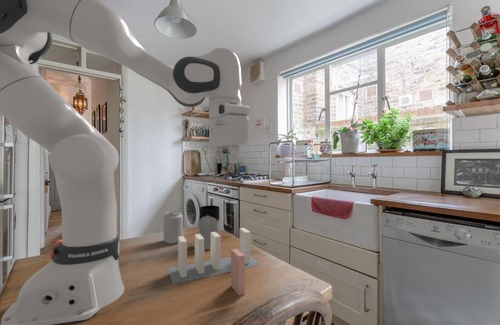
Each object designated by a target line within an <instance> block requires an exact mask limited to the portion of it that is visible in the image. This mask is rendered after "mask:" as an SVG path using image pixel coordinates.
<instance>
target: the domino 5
mask: <svg viewBox="0 0 500 325" xmlns="http://www.w3.org/2000/svg"><path fill="white" fill-rule="evenodd" d="M251 236H252V234H251V231H249V230H248V229H247V228H245V227H242V228H241V227H240V228H239V251H240V252H241V253H243V254H244V255H245V264H249V263H250V256H251Z"/></svg>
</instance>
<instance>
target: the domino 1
mask: <svg viewBox="0 0 500 325" xmlns="http://www.w3.org/2000/svg"><path fill="white" fill-rule="evenodd" d="M187 265H188V241H187V239H186V237H185V236H184V235H183V236H181V237H178V243H177V267H178V271H179V274H180V276H181V278H182V277H187Z"/></svg>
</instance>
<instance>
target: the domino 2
mask: <svg viewBox="0 0 500 325" xmlns="http://www.w3.org/2000/svg"><path fill="white" fill-rule="evenodd" d="M204 262H205V249H204V238H203V237H202V236H201V235H200V234H199V233H196V234H194V263H195V268H196V270H197V272H198V273H199V274H201V273H204Z"/></svg>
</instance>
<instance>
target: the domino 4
mask: <svg viewBox="0 0 500 325" xmlns="http://www.w3.org/2000/svg"><path fill="white" fill-rule="evenodd" d="M230 257H231V272H230V287H231V288H232V289H233V290H234V292H235V293H236V294H237V296H242V295H245V294H246V293H245V292H246V290H245V287H246V286H245V285H246V284H245V283H246V282H245V279H246V278H245V274H246V270H245V269H246V268H245V255H244V254H243V253H241V252H240V249H238V248H233V249H232V248H231V249H230Z"/></svg>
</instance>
